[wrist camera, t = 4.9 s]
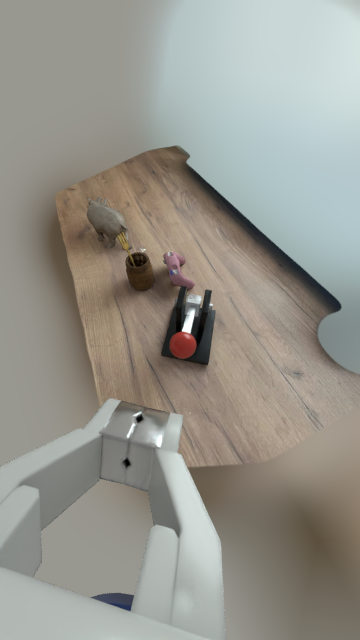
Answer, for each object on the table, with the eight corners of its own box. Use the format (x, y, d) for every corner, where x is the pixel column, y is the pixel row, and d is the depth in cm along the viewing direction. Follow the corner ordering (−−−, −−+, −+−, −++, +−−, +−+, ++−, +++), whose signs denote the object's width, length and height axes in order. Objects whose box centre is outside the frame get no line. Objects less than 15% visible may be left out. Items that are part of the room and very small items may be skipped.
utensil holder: (144, 295, 44) (134, 254, 34) (124, 284, 46) (109, 241, 36) (159, 280, 47) (154, 236, 37) (139, 269, 49) (129, 225, 38)
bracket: (207, 365, 36) (219, 338, 26) (161, 355, 37) (155, 326, 27) (214, 313, 42) (226, 275, 32) (175, 306, 43) (174, 267, 33)
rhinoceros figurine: (109, 256, 48) (81, 186, 41) (101, 257, 59) (78, 202, 53) (137, 247, 50) (115, 180, 44) (124, 250, 62) (105, 197, 55)
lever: (192, 366, 22) (196, 346, 20) (165, 361, 22) (167, 340, 21) (202, 310, 33) (205, 294, 31) (184, 307, 33) (186, 291, 31)
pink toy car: (171, 268, 51) (157, 250, 46) (186, 259, 50) (174, 240, 44) (179, 296, 46) (165, 280, 41) (196, 287, 45) (184, 270, 39)
